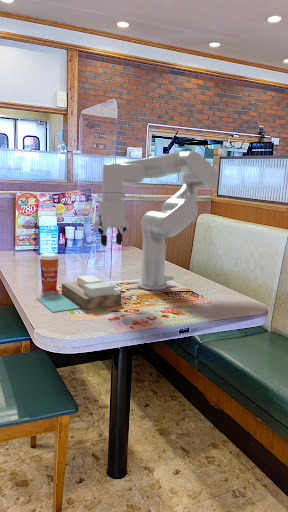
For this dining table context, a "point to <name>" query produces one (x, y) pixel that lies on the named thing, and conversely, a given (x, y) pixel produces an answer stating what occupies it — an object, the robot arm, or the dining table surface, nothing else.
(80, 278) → the white rectangular block
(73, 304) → the mat
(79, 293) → the riser
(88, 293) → the pale green block
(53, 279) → the paper cup
